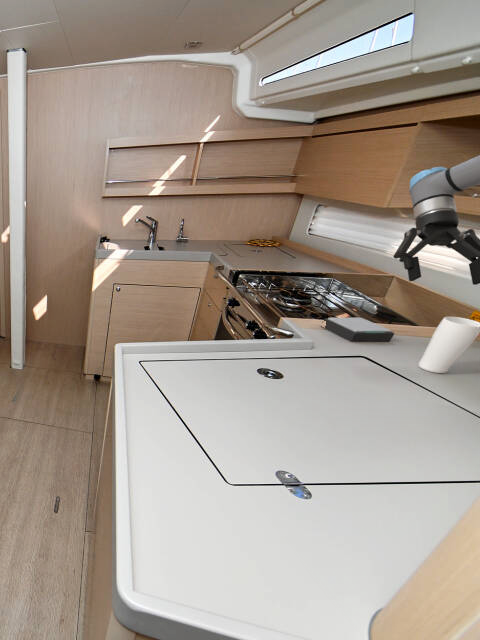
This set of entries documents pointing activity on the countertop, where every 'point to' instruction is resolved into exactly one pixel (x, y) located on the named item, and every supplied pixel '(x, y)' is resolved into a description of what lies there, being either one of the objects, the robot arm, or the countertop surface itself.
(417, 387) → the countertop surface
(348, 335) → the kitchen scale
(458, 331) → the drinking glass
